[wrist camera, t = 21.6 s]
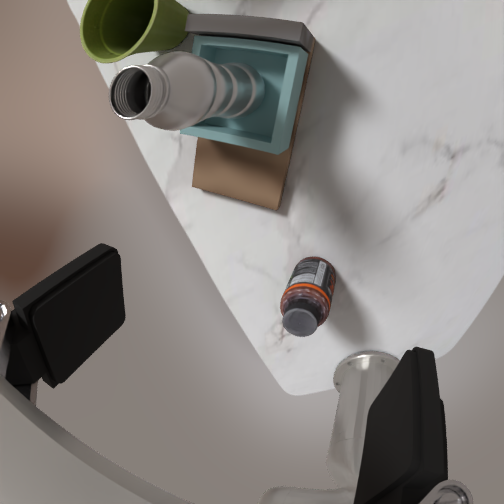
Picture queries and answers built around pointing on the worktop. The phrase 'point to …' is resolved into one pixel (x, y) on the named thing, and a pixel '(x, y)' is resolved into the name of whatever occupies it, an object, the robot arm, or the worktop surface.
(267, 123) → the teal open box
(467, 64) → the worktop surface
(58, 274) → the robot arm
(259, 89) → the plastic bottle
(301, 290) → the supplement bottle
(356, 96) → the worktop surface
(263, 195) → the rail base
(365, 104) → the worktop surface
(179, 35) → the plant pot
